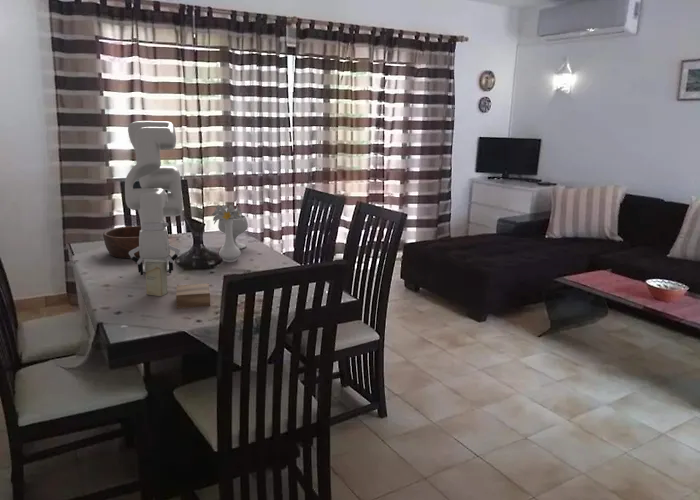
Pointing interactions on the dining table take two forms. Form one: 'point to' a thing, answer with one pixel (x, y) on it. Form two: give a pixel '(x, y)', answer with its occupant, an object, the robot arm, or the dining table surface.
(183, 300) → the light wood square block
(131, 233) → the wooden bowl
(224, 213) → the flower vase
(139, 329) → the dining table surface
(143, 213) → the robot arm
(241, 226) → the chalice
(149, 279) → the skincare box
